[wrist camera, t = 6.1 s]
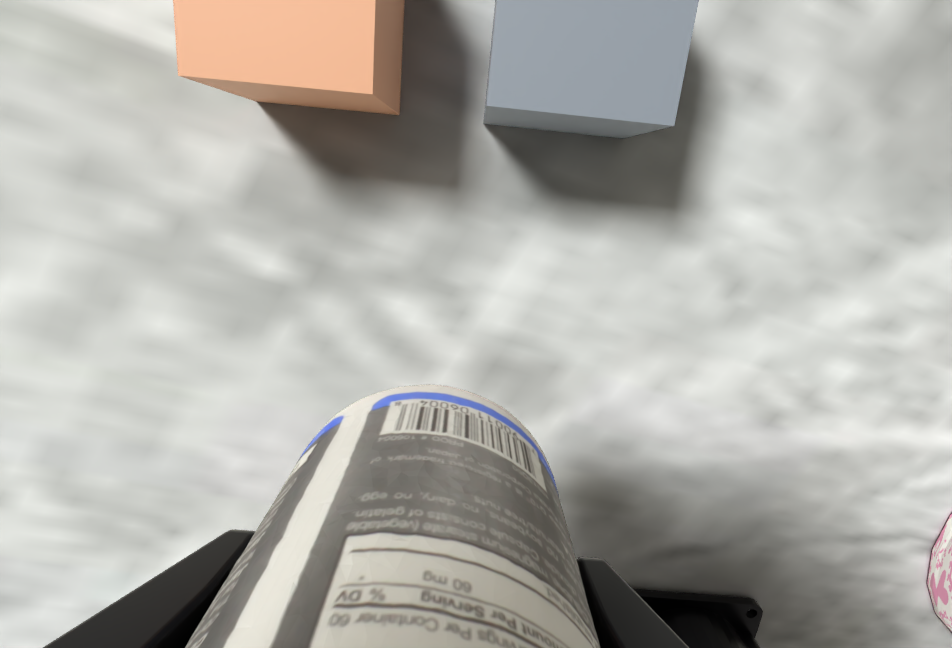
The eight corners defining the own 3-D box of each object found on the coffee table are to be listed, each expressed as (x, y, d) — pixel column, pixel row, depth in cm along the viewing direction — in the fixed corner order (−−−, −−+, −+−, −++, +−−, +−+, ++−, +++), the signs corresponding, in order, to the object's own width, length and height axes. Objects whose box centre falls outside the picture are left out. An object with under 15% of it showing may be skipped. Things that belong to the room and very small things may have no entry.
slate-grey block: (649, -21, 17) (717, -98, 12) (622, 138, 18) (674, 126, 14) (499, -39, 17) (508, -124, 12) (483, 123, 18) (486, 105, 13)
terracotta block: (407, -49, 17) (379, -139, 12) (399, 115, 18) (372, 94, 13) (252, -65, 17) (162, -162, 12) (257, 101, 18) (178, 75, 13)
